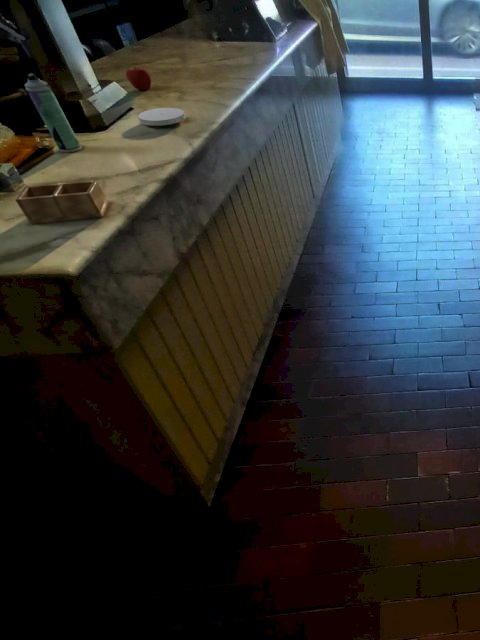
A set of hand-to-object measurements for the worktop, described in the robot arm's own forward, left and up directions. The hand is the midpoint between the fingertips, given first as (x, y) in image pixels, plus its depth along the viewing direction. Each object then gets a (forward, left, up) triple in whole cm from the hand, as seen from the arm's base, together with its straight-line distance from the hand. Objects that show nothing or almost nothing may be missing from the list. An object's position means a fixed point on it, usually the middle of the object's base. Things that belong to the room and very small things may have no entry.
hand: (13, 58), depth 145 cm
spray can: (+6, -10, -22) cm, 25 cm away
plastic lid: (+29, +11, -22) cm, 38 cm away
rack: (+16, -57, -22) cm, 63 cm away
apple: (+17, +54, -22) cm, 61 cm away
